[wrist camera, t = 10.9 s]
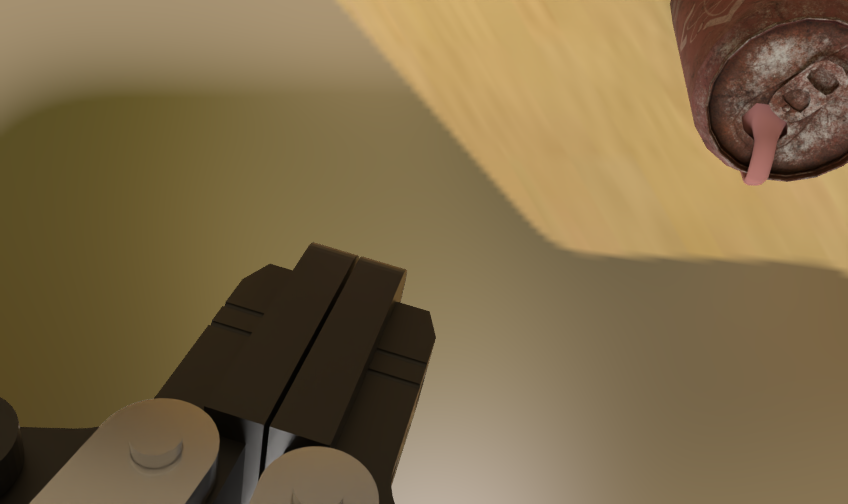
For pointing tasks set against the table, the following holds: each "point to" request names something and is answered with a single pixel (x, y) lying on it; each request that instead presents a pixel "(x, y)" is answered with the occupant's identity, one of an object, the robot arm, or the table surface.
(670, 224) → the table surface
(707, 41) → the can
